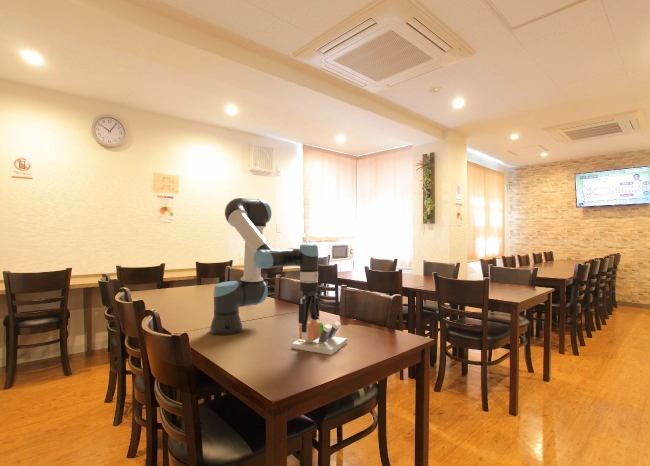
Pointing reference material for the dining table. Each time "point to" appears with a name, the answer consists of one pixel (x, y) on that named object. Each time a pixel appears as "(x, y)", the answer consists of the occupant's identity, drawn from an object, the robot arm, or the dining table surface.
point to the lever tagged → (324, 334)
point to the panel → (324, 348)
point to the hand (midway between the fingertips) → (309, 337)
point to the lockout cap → (311, 330)
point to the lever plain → (333, 329)
